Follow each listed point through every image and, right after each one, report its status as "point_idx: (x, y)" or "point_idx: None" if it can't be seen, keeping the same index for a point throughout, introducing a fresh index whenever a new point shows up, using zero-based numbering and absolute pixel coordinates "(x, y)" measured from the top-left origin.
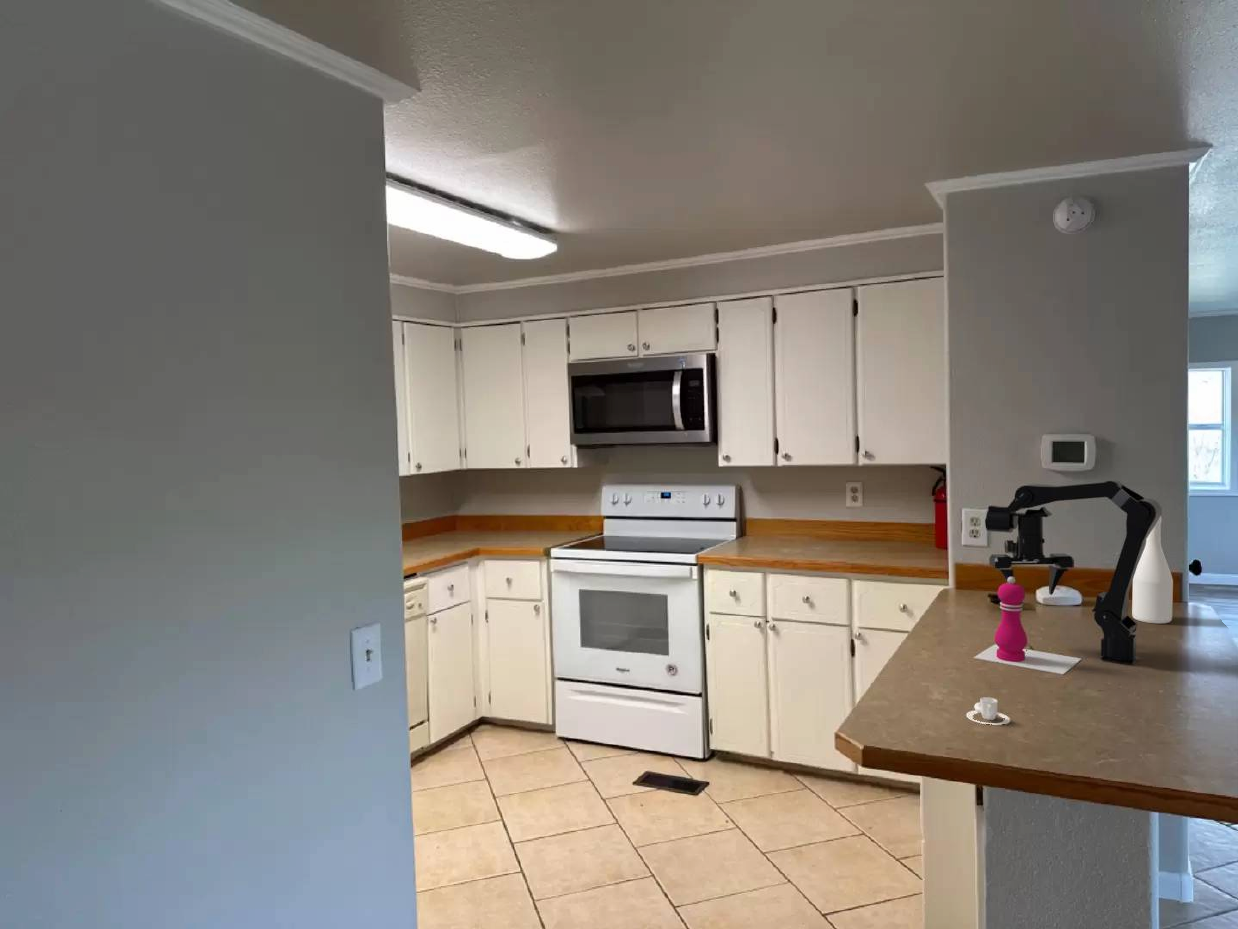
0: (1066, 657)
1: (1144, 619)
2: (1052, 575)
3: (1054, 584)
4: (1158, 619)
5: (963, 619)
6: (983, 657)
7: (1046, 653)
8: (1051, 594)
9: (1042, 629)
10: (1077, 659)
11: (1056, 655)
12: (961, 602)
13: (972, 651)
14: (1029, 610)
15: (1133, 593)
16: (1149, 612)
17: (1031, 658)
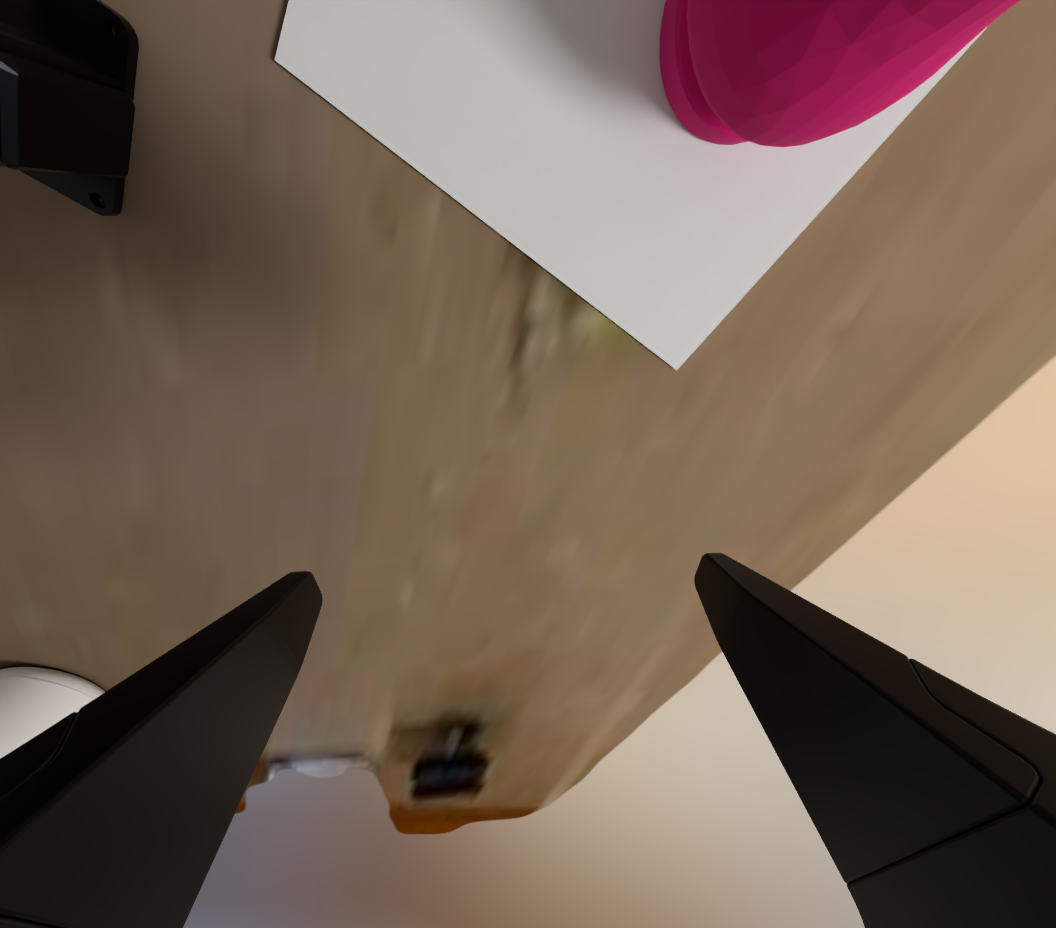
0: (370, 87)
1: (59, 681)
2: (84, 922)
3: (163, 680)
4: (3, 678)
5: (627, 649)
6: None
7: (476, 191)
8: (300, 572)
9: (406, 586)
10: (301, 28)
11: (426, 144)
12: (563, 752)
13: (863, 229)
14: (408, 724)
15: None
16: (13, 705)
17: (611, 30)
